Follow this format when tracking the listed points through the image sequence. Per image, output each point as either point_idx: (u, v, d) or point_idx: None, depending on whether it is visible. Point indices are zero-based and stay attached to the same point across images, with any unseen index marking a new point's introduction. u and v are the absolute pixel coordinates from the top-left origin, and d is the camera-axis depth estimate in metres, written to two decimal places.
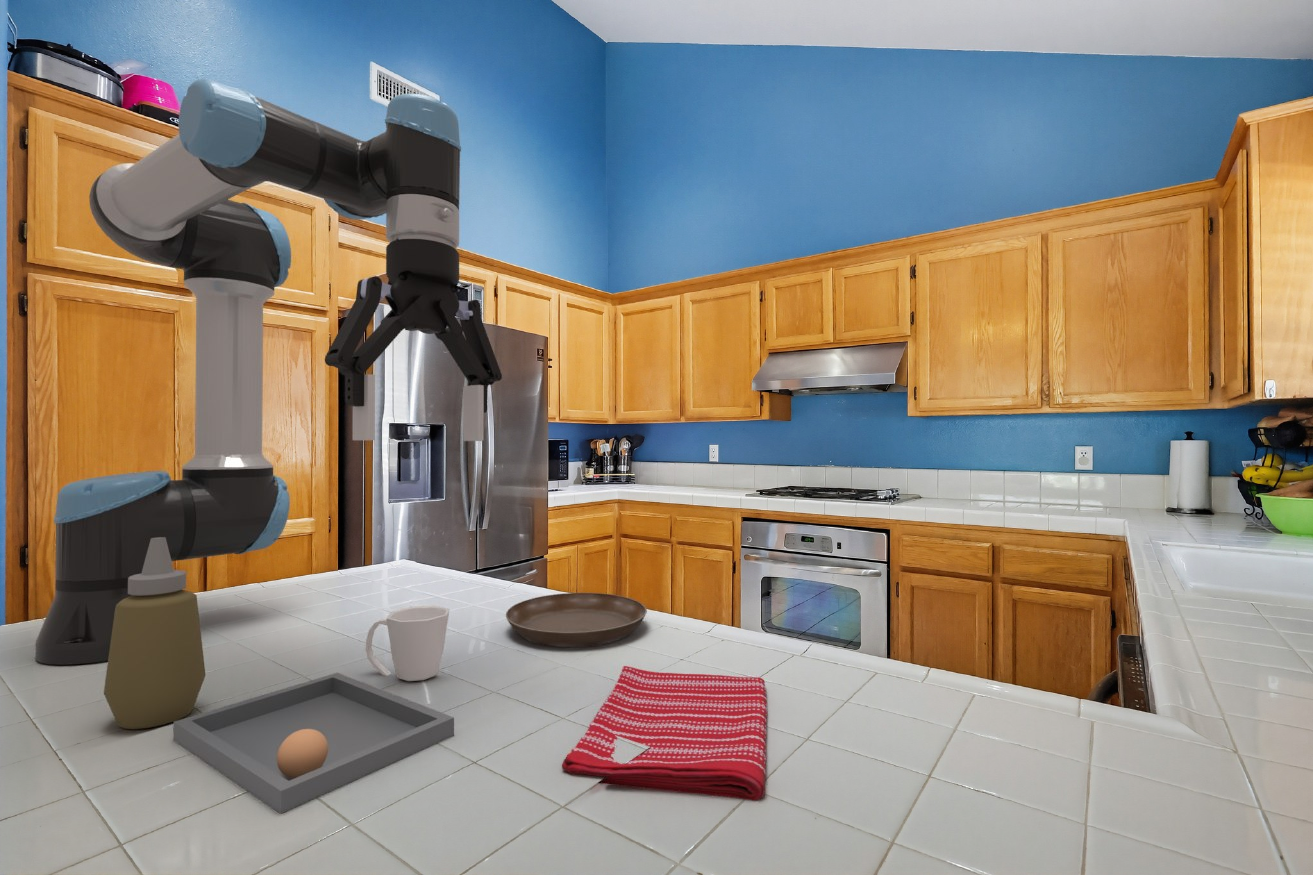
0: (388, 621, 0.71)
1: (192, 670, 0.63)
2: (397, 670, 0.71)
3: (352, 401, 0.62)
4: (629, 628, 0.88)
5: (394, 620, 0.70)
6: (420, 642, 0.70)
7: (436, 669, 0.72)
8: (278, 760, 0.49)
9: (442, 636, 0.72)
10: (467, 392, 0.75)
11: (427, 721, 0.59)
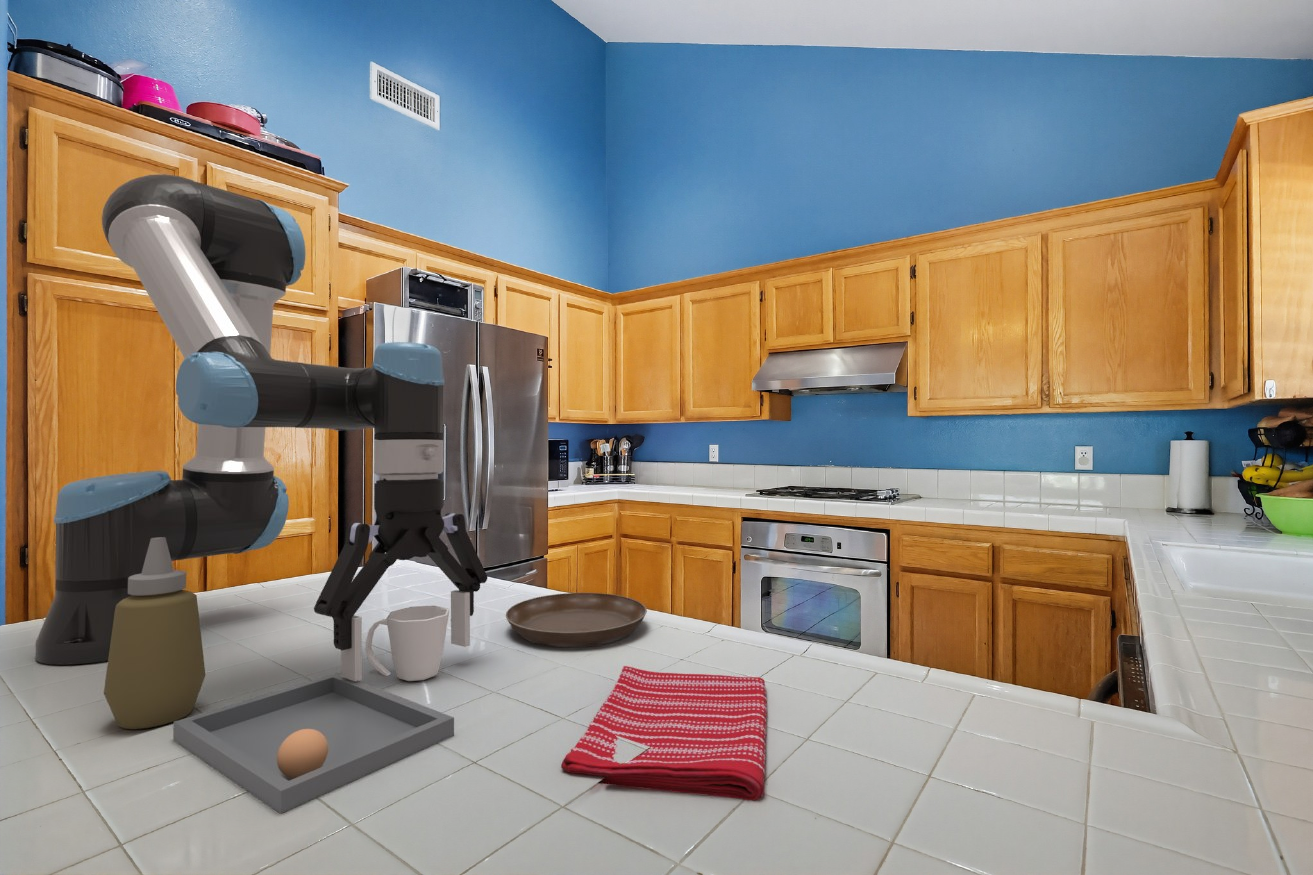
0: (388, 621, 0.71)
1: (192, 670, 0.63)
2: (397, 670, 0.71)
3: (340, 646, 0.66)
4: (629, 628, 0.88)
5: (394, 620, 0.70)
6: (420, 642, 0.70)
7: (436, 669, 0.72)
8: (278, 760, 0.49)
9: (442, 636, 0.72)
10: (454, 598, 0.79)
11: (427, 721, 0.59)
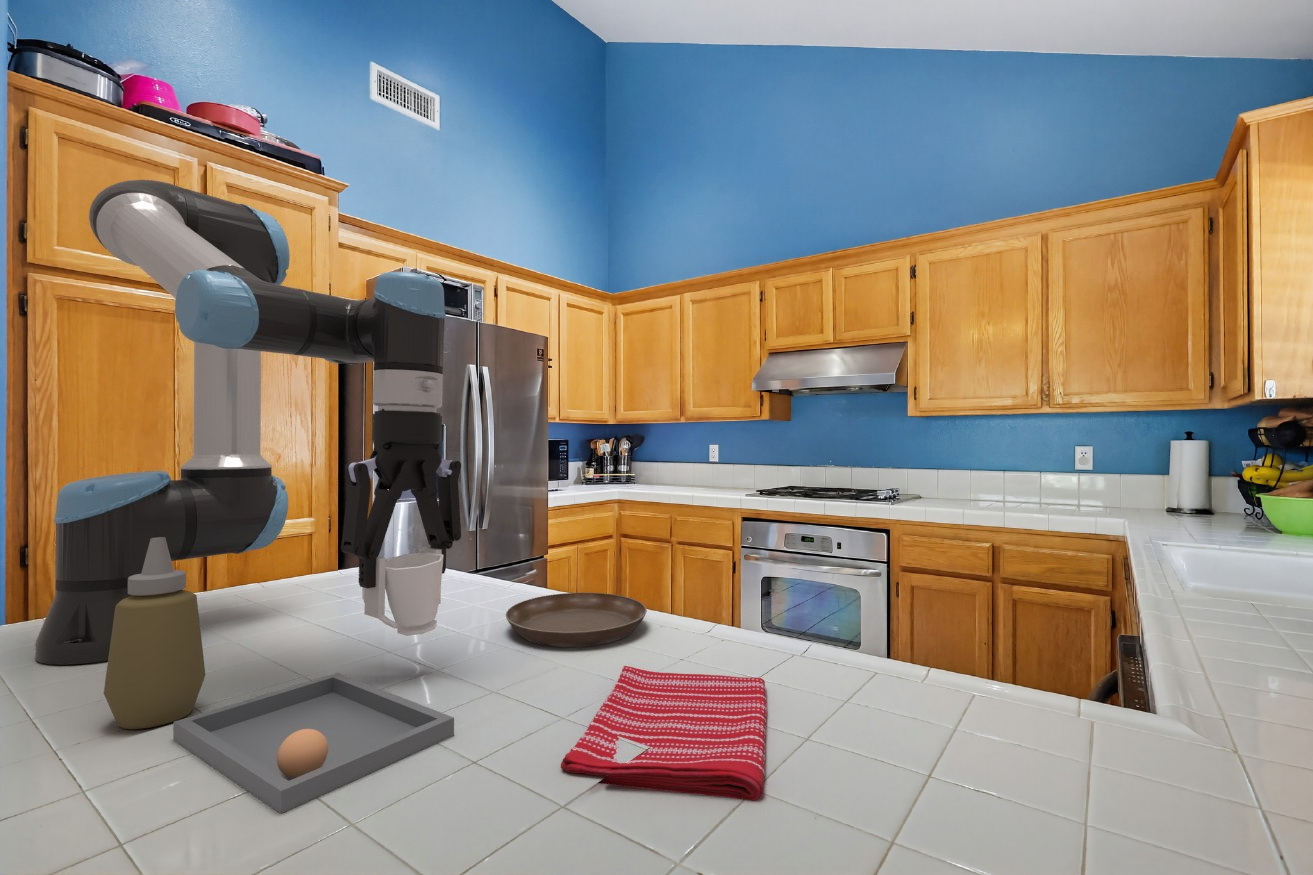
0: None
1: (192, 669, 0.63)
2: (395, 616, 0.71)
3: (365, 584, 0.69)
4: (629, 628, 0.88)
5: (387, 568, 0.70)
6: (415, 589, 0.70)
7: (434, 614, 0.72)
8: (278, 760, 0.49)
9: (437, 582, 0.72)
10: None
11: (427, 721, 0.59)
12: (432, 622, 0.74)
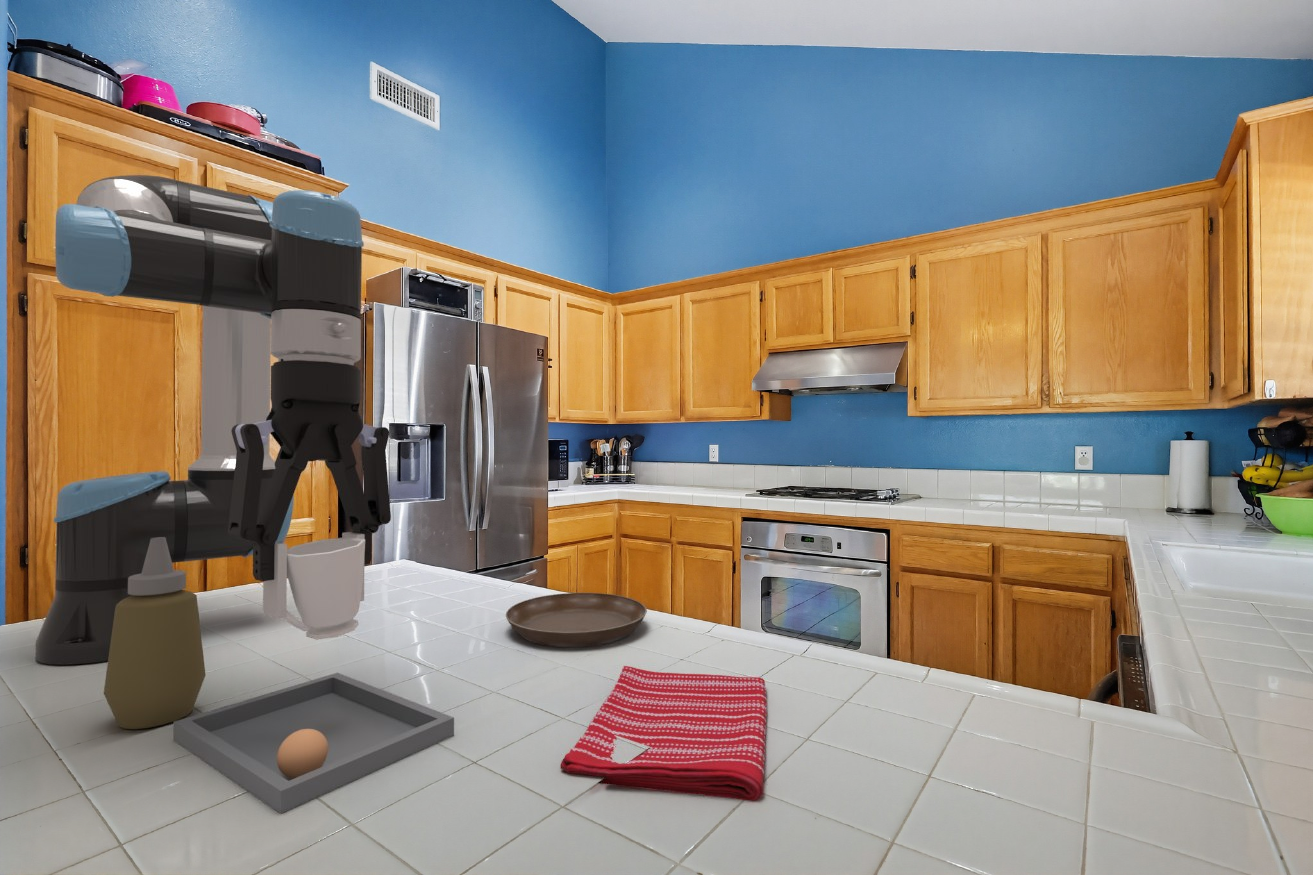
0: None
1: (192, 670, 0.63)
2: (302, 616, 0.58)
3: (259, 576, 0.55)
4: (629, 628, 0.88)
5: (289, 555, 0.56)
6: (324, 581, 0.56)
7: (352, 612, 0.59)
8: (278, 760, 0.49)
9: (355, 572, 0.58)
10: None
11: (427, 721, 0.59)
12: (352, 623, 0.60)
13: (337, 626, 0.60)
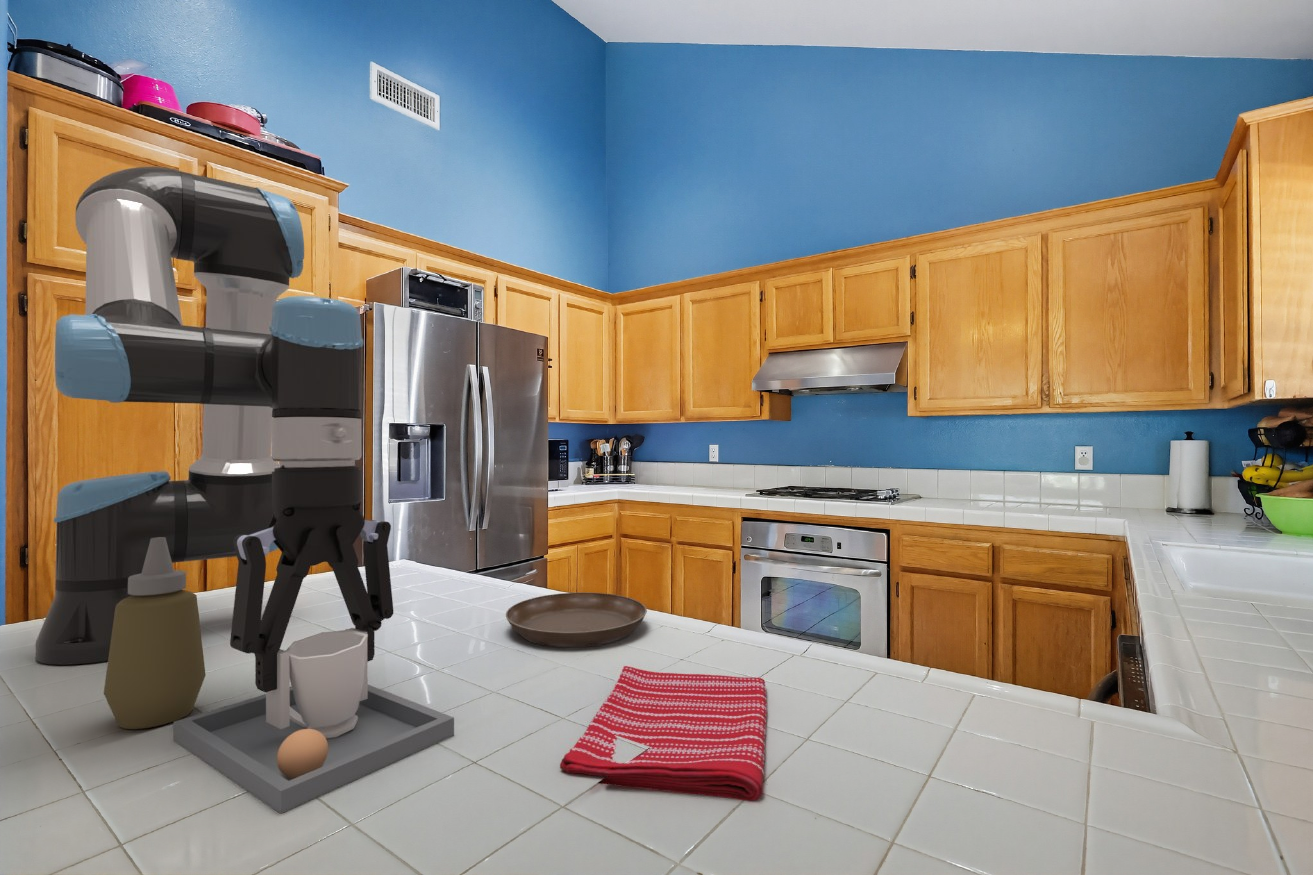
0: None
1: (192, 670, 0.63)
2: (302, 715, 0.57)
3: (262, 687, 0.55)
4: (629, 628, 0.88)
5: (292, 656, 0.56)
6: (325, 682, 0.56)
7: (352, 710, 0.58)
8: (278, 760, 0.49)
9: (356, 671, 0.58)
10: None
11: (427, 721, 0.59)
12: (351, 719, 0.60)
13: None
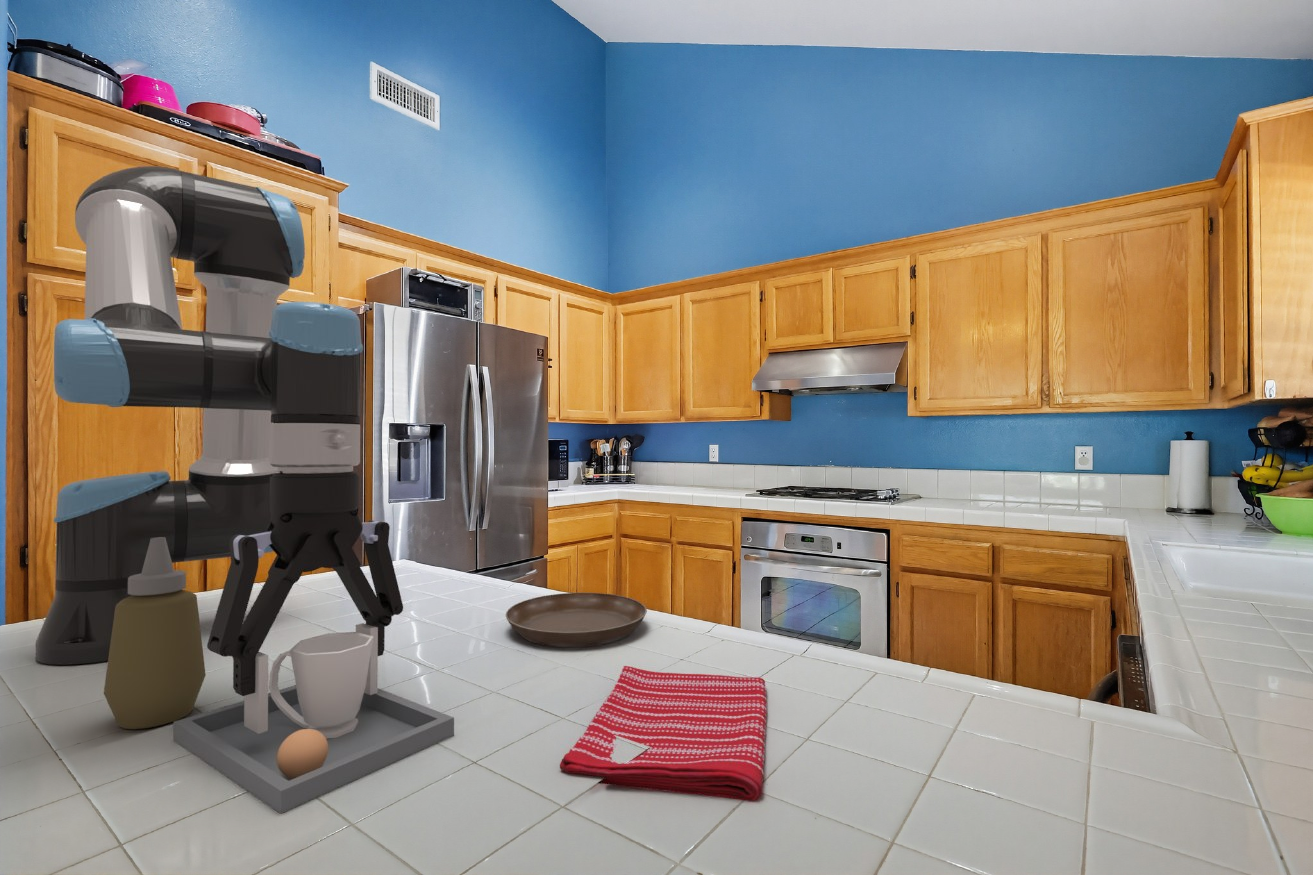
0: (292, 653, 0.57)
1: (192, 670, 0.63)
2: (304, 714, 0.58)
3: (240, 691, 0.54)
4: (629, 628, 0.88)
5: (298, 652, 0.57)
6: (330, 680, 0.57)
7: (353, 712, 0.59)
8: (278, 760, 0.49)
9: (361, 671, 0.59)
10: None
11: (427, 721, 0.59)
12: (352, 721, 0.60)
13: None
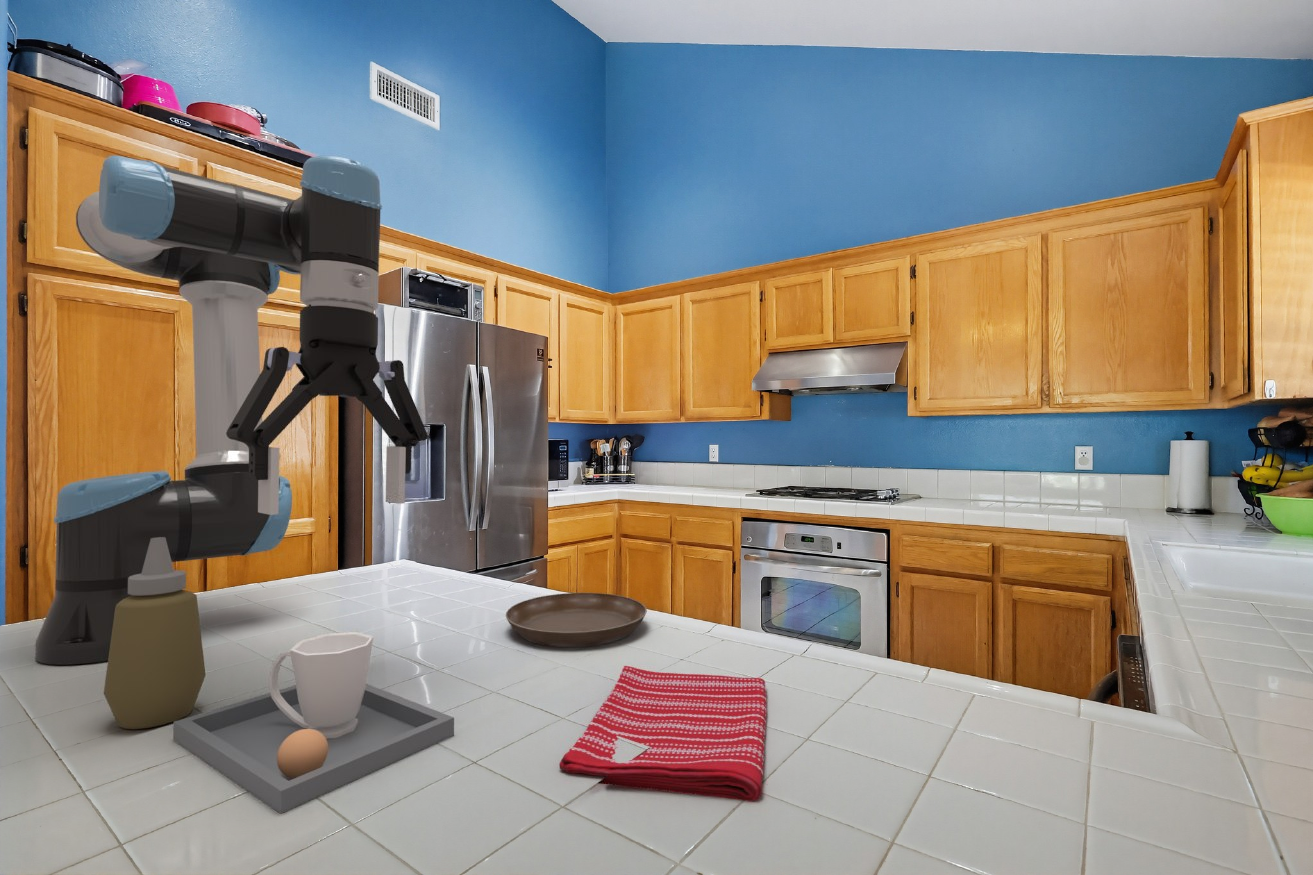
0: (292, 653, 0.57)
1: (192, 670, 0.63)
2: (304, 714, 0.58)
3: (254, 475, 0.61)
4: (629, 628, 0.88)
5: (298, 653, 0.57)
6: (330, 680, 0.57)
7: (353, 712, 0.59)
8: (278, 760, 0.49)
9: (361, 671, 0.59)
10: (390, 453, 0.74)
11: (427, 721, 0.59)
12: (352, 721, 0.60)
13: None
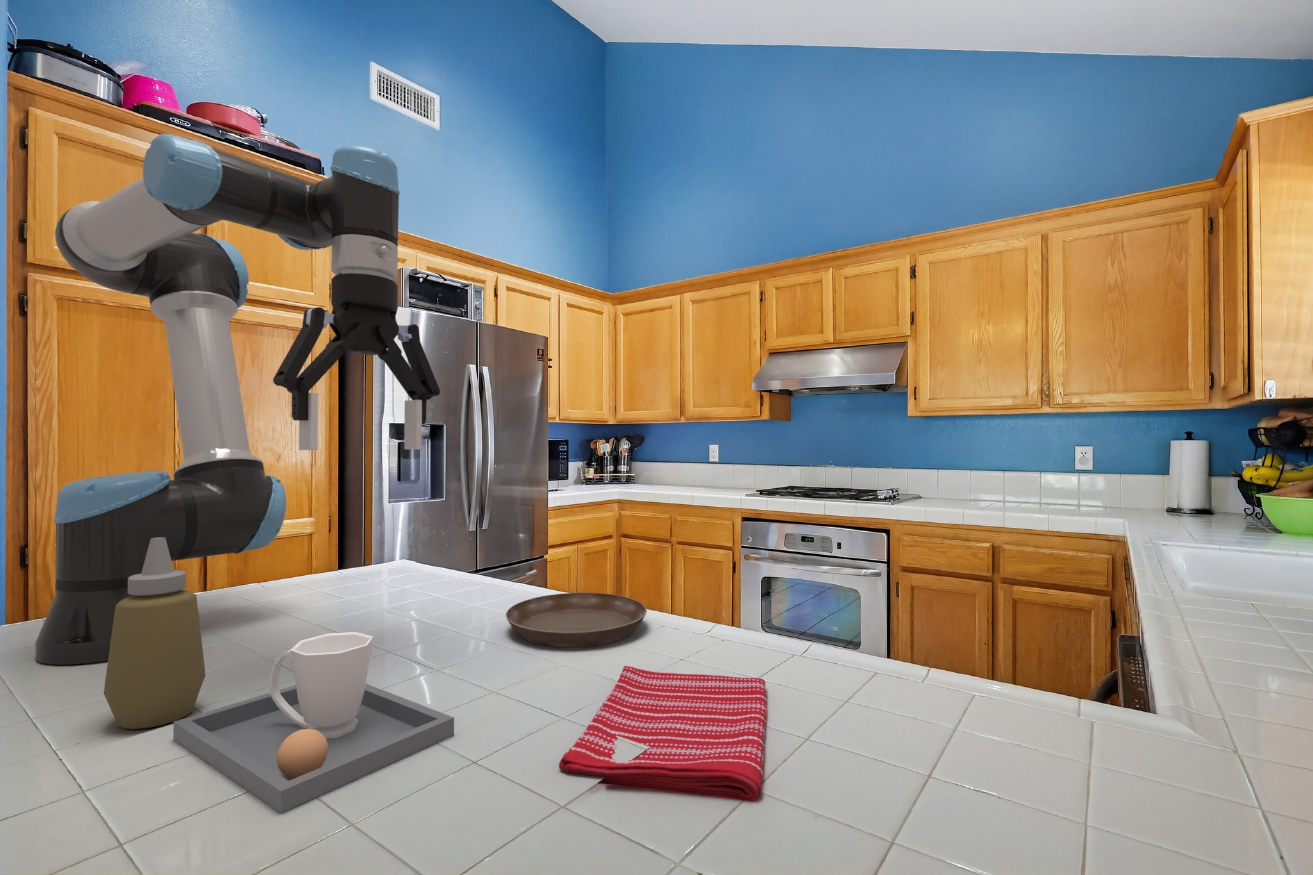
0: (292, 653, 0.57)
1: (192, 670, 0.63)
2: (304, 714, 0.58)
3: (297, 416, 0.71)
4: (629, 628, 0.88)
5: (298, 653, 0.57)
6: (330, 680, 0.57)
7: (353, 712, 0.59)
8: (278, 760, 0.49)
9: (361, 671, 0.59)
10: (407, 406, 0.84)
11: (427, 721, 0.59)
12: (352, 721, 0.60)
13: None
